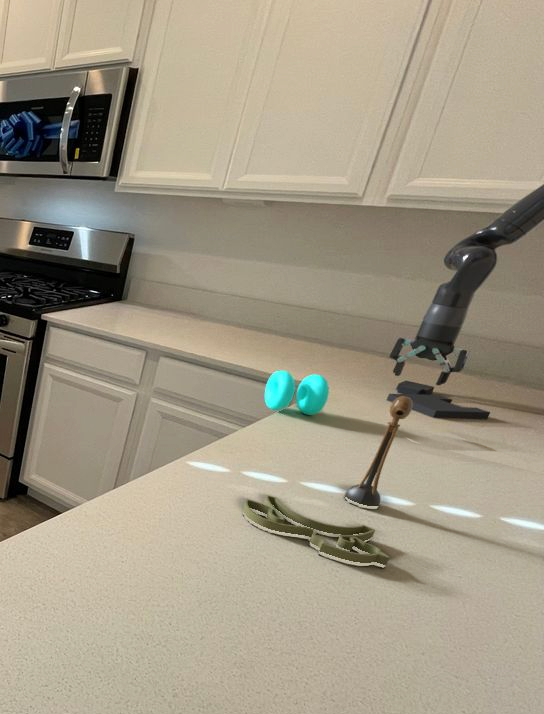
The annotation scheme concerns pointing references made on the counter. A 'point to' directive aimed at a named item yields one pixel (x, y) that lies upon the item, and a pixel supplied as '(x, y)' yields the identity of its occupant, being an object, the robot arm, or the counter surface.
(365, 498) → the wooden tabletop sculpture
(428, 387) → the tab pad
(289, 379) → the donuts
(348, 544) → the cookie cutter
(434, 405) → the notch pad
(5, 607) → the counter surface
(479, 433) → the counter surface
